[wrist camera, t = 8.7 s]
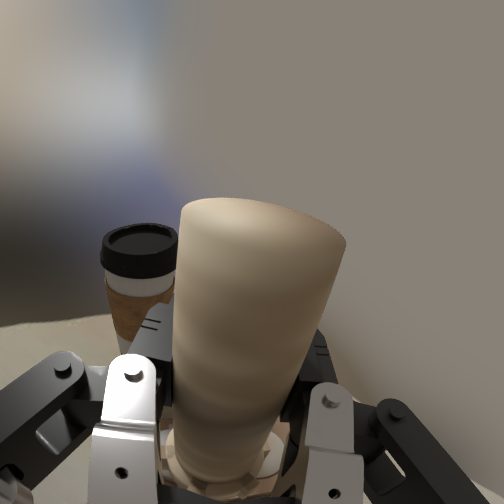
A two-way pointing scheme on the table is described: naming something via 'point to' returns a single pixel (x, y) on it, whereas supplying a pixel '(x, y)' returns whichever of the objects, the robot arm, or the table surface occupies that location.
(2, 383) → the table surface
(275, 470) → the gear board
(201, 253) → the spindle gear
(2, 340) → the table surface
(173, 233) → the coffee cup
